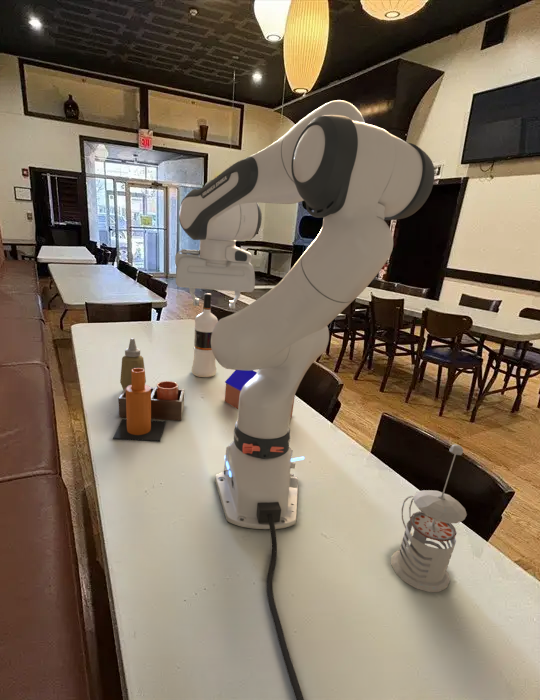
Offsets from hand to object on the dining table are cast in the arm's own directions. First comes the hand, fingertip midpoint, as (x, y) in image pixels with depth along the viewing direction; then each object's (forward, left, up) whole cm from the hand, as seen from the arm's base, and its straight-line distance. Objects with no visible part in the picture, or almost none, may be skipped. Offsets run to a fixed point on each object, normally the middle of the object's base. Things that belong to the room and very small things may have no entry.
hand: (214, 306), depth 108 cm
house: (+9, -15, -33) cm, 38 cm away
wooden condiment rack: (+3, +16, -33) cm, 37 cm away
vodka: (+38, +3, -33) cm, 51 cm away
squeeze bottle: (+17, +25, -33) cm, 45 cm away
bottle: (-9, +18, -33) cm, 38 cm away
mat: (-9, +18, -33) cm, 39 cm away
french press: (-53, -39, -33) cm, 74 cm away
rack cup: (+3, +12, -33) cm, 35 cm away
